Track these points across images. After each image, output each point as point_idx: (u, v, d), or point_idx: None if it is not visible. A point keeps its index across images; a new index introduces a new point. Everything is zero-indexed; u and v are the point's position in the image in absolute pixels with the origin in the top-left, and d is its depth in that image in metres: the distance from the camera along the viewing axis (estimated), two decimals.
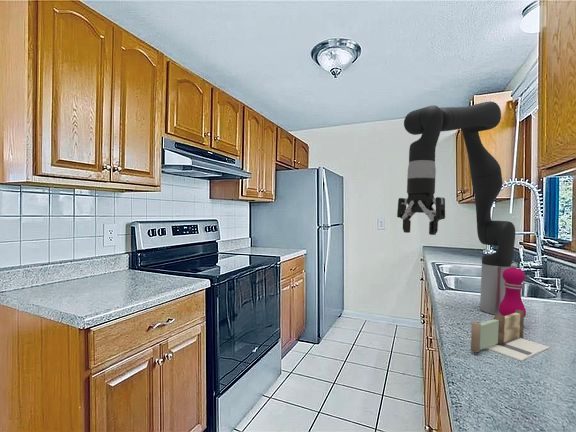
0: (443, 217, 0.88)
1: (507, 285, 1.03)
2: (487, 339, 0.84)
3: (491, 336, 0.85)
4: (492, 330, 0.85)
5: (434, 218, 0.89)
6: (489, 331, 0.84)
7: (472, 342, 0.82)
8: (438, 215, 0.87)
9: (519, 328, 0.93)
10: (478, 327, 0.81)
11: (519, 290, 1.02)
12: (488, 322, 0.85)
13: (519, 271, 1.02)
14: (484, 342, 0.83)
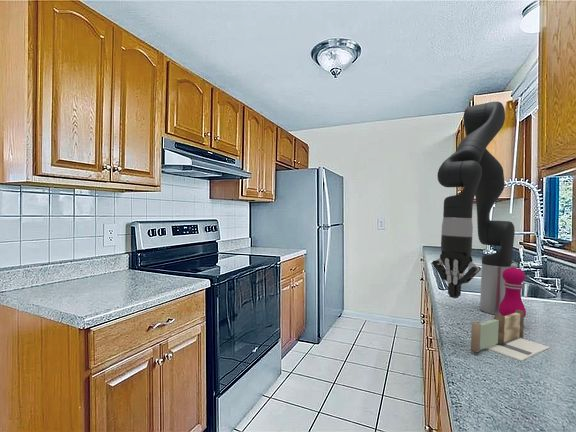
0: (466, 282, 0.86)
1: (507, 285, 1.03)
2: (487, 339, 0.84)
3: (491, 336, 0.85)
4: (492, 330, 0.85)
5: (457, 282, 0.87)
6: (489, 331, 0.84)
7: (472, 342, 0.82)
8: (462, 280, 0.85)
9: (519, 328, 0.93)
10: (478, 327, 0.81)
11: (519, 290, 1.02)
12: (488, 322, 0.85)
13: (519, 271, 1.02)
14: (484, 342, 0.83)
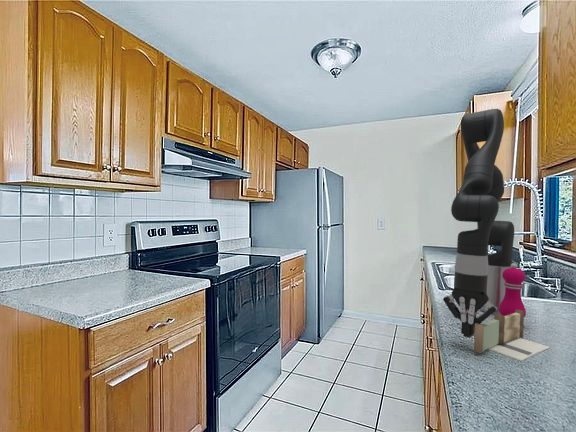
0: None
1: (507, 285, 1.03)
2: (489, 340, 0.84)
3: (492, 336, 0.85)
4: (493, 330, 0.85)
5: (473, 321, 0.83)
6: (491, 331, 0.84)
7: (475, 343, 0.81)
8: (479, 320, 0.82)
9: (519, 328, 0.93)
10: (481, 328, 0.80)
11: (519, 290, 1.02)
12: (490, 322, 0.84)
13: (519, 271, 1.02)
14: (486, 343, 0.83)
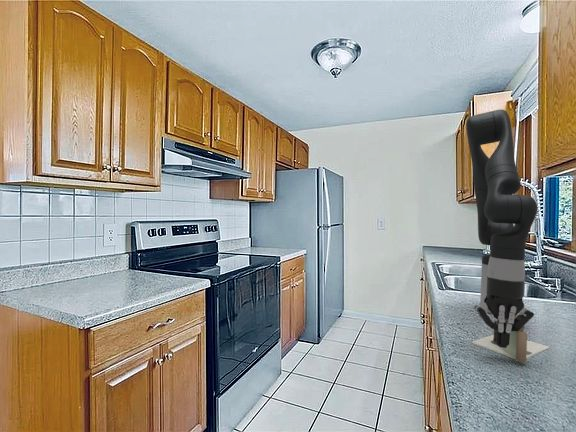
0: None
1: None
2: None
3: None
4: None
5: (510, 329, 0.78)
6: None
7: (522, 353, 0.76)
8: (517, 327, 0.78)
9: None
10: None
11: None
12: None
13: None
14: None
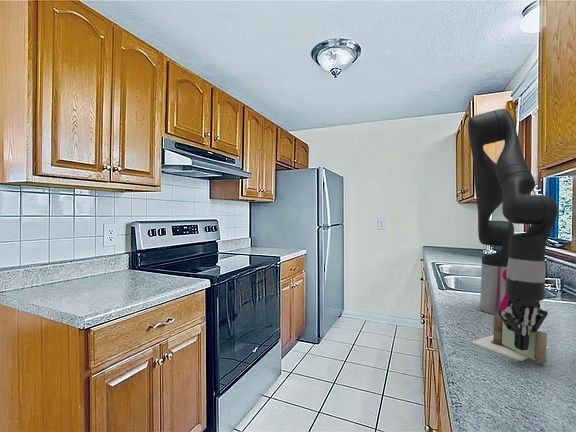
0: None
1: None
2: None
3: None
4: None
5: None
6: None
7: (543, 354, 0.76)
8: (536, 328, 0.77)
9: None
10: None
11: None
12: None
13: None
14: None
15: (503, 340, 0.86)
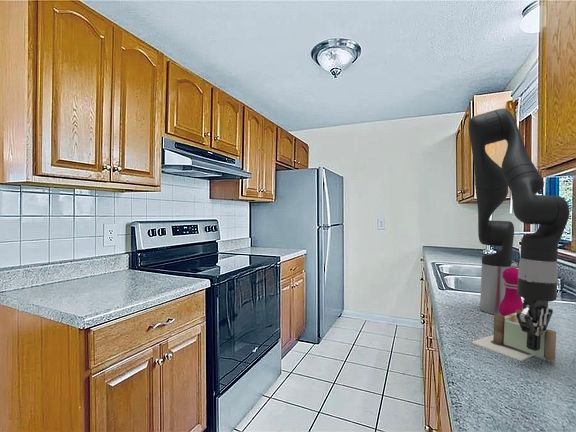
0: None
1: (507, 285, 1.03)
2: None
3: None
4: None
5: None
6: None
7: (554, 352, 0.77)
8: (545, 326, 0.78)
9: None
10: None
11: None
12: None
13: None
14: None
15: (505, 340, 0.86)
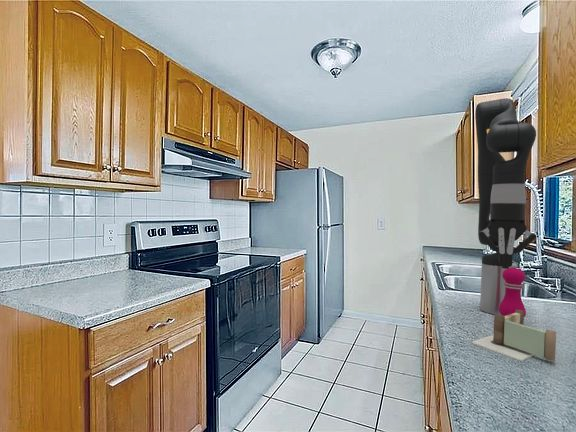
0: None
1: (507, 285, 1.03)
2: None
3: None
4: None
5: (512, 251, 0.83)
6: None
7: (554, 352, 0.77)
8: (519, 248, 0.82)
9: None
10: None
11: (519, 290, 1.02)
12: (524, 325, 0.83)
13: (519, 271, 1.02)
14: None
15: (505, 340, 0.86)
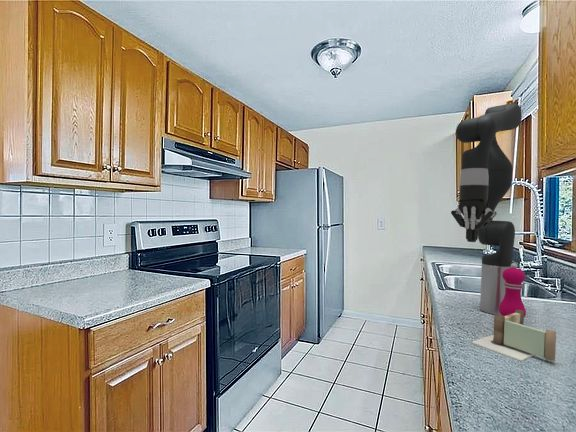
0: (483, 227, 0.95)
1: (507, 285, 1.03)
2: None
3: None
4: None
5: (475, 227, 0.96)
6: None
7: (554, 352, 0.77)
8: (479, 224, 0.95)
9: None
10: None
11: (519, 290, 1.02)
12: (524, 325, 0.83)
13: (519, 271, 1.02)
14: None
15: (505, 340, 0.86)
